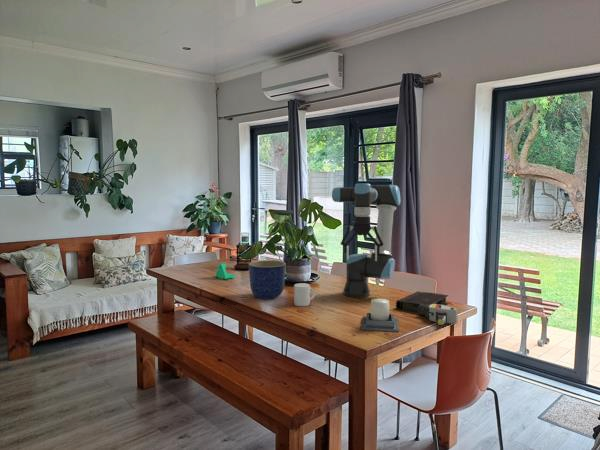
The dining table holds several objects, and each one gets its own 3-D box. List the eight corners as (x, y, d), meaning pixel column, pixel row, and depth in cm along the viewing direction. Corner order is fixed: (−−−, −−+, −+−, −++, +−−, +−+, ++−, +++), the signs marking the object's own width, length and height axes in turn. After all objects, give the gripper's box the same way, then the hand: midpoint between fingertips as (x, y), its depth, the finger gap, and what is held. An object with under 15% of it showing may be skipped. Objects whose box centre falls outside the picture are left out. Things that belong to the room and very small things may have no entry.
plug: (370, 319, 202) (371, 298, 201) (388, 320, 200) (389, 299, 199) (370, 325, 194) (370, 303, 193) (389, 326, 192) (389, 303, 191)
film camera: (406, 322, 204) (425, 315, 214) (443, 330, 189) (461, 322, 199) (405, 307, 204) (424, 301, 213) (443, 314, 189) (461, 307, 199)
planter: (292, 298, 242) (292, 264, 241) (258, 303, 232) (258, 268, 230) (275, 290, 260) (275, 259, 258) (243, 295, 250) (242, 262, 248)
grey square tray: (362, 318, 206) (362, 311, 206) (397, 320, 203) (397, 313, 203) (361, 329, 191) (361, 321, 190) (398, 331, 188) (399, 323, 187)
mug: (291, 284, 231) (309, 281, 238) (291, 303, 232) (309, 300, 239) (299, 287, 224) (318, 284, 231) (299, 307, 225) (318, 303, 232)
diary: (395, 309, 223) (395, 299, 222) (416, 299, 242) (416, 290, 242) (430, 315, 211) (430, 305, 211) (449, 304, 230) (449, 295, 230)
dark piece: (256, 267, 332) (255, 241, 330) (251, 271, 318) (251, 244, 316) (237, 267, 334) (236, 241, 332) (231, 270, 320) (231, 243, 318)
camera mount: (235, 278, 294) (234, 263, 293) (225, 280, 288) (225, 265, 288) (225, 276, 302) (225, 261, 301) (215, 277, 297) (215, 262, 296)
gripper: (335, 216, 207) (335, 260, 209) (389, 216, 203) (388, 262, 205) (336, 215, 215) (336, 257, 217) (388, 215, 210) (387, 259, 212)
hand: (361, 260), depth 211 cm, fingers open, 13 cm apart
